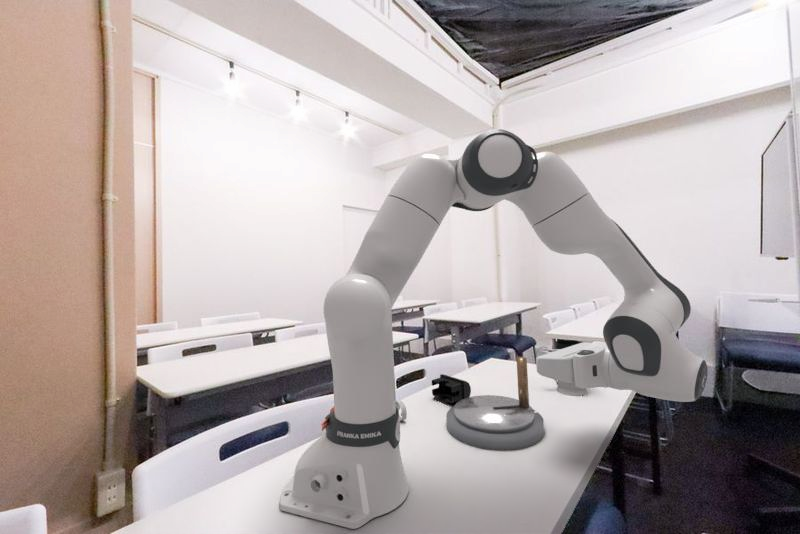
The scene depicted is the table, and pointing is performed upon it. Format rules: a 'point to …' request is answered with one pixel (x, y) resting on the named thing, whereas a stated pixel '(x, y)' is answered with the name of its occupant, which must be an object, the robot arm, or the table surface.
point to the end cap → (450, 390)
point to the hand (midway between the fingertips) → (542, 353)
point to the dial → (498, 408)
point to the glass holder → (564, 386)
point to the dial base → (496, 434)
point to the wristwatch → (401, 405)
